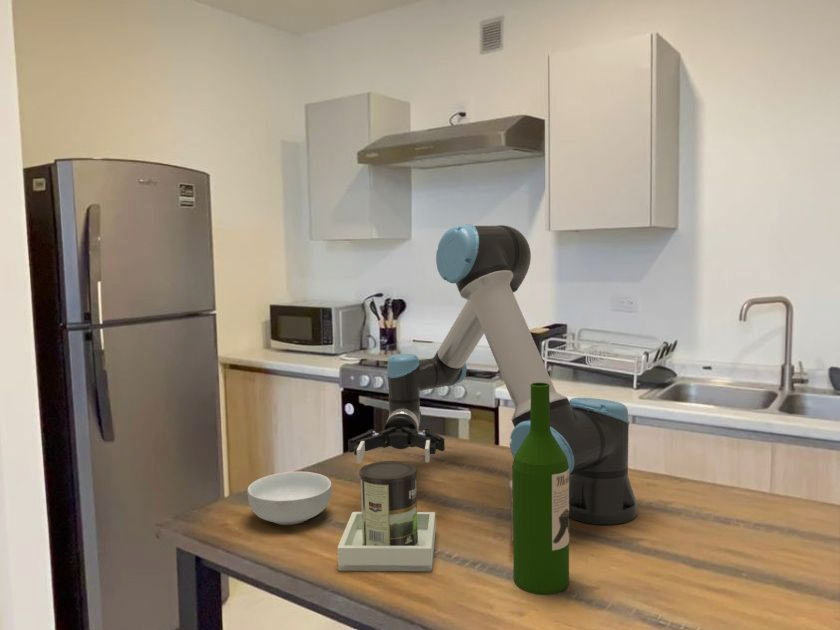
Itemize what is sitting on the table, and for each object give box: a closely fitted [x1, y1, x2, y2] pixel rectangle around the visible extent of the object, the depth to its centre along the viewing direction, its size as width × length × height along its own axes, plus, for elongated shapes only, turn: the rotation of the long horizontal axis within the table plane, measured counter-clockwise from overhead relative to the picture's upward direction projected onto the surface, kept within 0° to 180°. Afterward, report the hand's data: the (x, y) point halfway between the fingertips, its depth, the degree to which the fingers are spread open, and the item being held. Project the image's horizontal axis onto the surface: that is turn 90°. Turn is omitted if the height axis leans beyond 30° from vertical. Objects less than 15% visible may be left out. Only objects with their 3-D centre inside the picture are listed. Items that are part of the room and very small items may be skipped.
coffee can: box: [358, 460, 418, 546], centre depth 123 cm, size 10×10×14 cm
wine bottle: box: [512, 383, 570, 595], centre depth 109 cm, size 9×9×32 cm
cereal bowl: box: [246, 471, 332, 526], centre depth 139 cm, size 17×17×7 cm
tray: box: [336, 511, 436, 572], centre depth 123 cm, size 16×16×4 cm
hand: (392, 456), depth 134 cm, fingers open, 13 cm apart
